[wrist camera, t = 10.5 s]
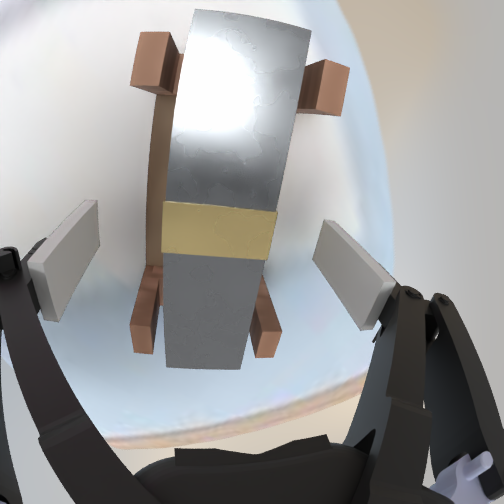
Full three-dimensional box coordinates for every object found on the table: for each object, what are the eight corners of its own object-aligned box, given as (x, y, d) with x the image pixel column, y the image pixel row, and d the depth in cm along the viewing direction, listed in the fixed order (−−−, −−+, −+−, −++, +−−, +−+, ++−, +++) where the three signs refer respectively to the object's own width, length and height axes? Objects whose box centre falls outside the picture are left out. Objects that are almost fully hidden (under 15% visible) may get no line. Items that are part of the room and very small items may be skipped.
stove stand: (149, 286, 27) (134, 356, 19) (166, 56, 17) (142, 23, 9) (253, 293, 30) (271, 361, 21) (297, 75, 20) (351, 60, 12)
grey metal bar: (233, 320, 27) (241, 370, 21) (169, 317, 25) (165, 368, 20) (282, 51, 16) (313, 30, 10) (196, 37, 14) (193, 8, 9)
